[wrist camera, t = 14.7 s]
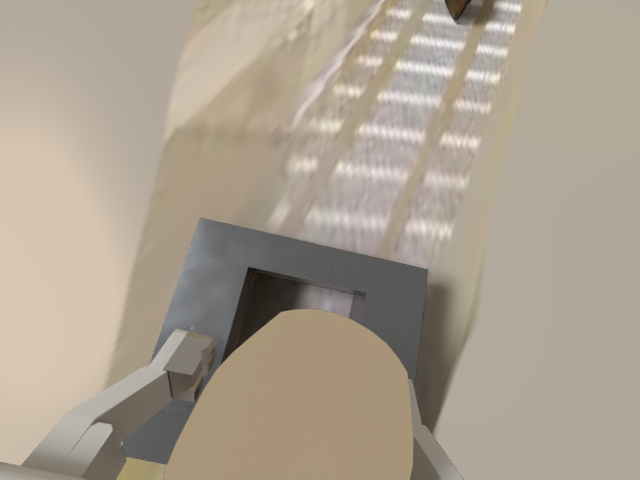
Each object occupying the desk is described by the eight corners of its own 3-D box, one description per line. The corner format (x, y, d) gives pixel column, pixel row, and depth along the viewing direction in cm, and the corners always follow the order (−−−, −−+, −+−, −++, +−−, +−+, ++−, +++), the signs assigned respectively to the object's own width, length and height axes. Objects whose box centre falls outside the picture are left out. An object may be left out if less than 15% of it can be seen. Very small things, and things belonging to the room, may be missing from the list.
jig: (379, 466, 19) (400, 510, 15) (157, 421, 18) (118, 455, 14) (404, 274, 22) (427, 269, 18) (217, 232, 21) (200, 217, 18)
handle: (341, 322, 21) (444, 363, 6) (306, 405, 19) (337, 729, 5) (286, 296, 21) (261, 277, 6) (247, 377, 19) (92, 603, 5)
